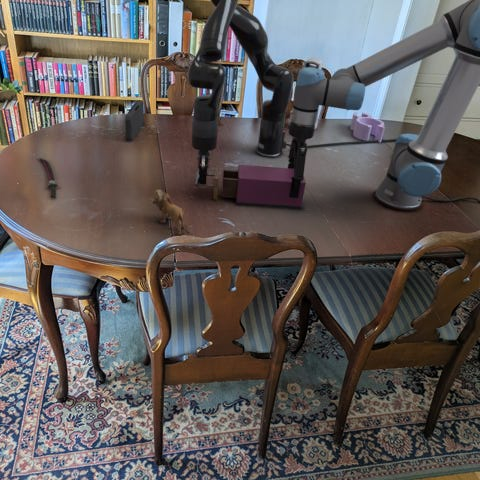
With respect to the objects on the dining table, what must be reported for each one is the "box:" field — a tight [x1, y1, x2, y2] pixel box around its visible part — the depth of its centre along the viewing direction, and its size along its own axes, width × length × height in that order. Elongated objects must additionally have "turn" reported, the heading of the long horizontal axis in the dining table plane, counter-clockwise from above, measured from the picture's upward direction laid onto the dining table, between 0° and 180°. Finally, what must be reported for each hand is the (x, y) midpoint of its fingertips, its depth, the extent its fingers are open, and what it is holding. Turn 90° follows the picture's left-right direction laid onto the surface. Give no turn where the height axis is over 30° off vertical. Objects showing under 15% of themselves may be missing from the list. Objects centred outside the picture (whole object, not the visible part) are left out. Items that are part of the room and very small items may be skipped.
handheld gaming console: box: [124, 99, 145, 141], centre depth 189 cm, size 23×3×10 cm, turn 178°
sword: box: [40, 158, 59, 198], centre depth 151 cm, size 31×3×1 cm, turn 26°
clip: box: [349, 111, 386, 143], centre depth 214 cm, size 20×12×7 cm, turn 11°
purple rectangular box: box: [235, 164, 307, 210], centre depth 150 cm, size 21×10×9 cm, turn 91°
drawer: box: [194, 166, 238, 200], centre depth 150 cm, size 26×9×7 cm, turn 91°
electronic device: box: [287, 57, 324, 130], centre depth 207 cm, size 12×8×30 cm, turn 71°
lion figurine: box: [149, 189, 191, 236], centre depth 131 cm, size 15×5×9 cm, turn 50°
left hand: (202, 184), depth 149 cm, fingers closed
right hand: (291, 189), depth 151 cm, fingers closed on purple rectangular box, 10 cm apart
